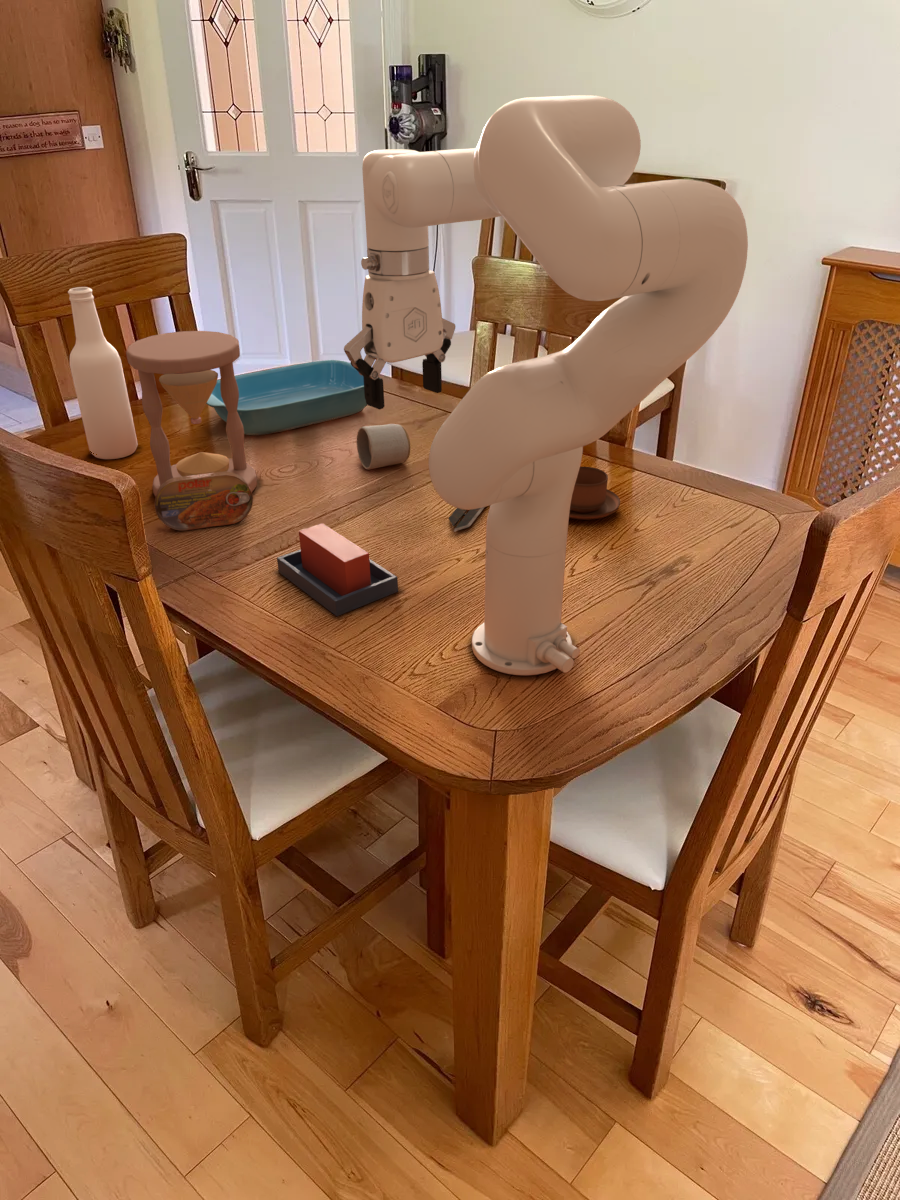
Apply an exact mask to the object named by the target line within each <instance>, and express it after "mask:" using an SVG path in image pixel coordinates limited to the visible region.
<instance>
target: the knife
mask: <svg viewBox="0 0 900 1200" xmlns="http://www.w3.org/2000/svg"><path fill="white" fill-rule="evenodd" d="M484 509H485V507H482V508H478V509H472V510H464V509H459V508H456V507H455V509H454V511H453V512H452V513H451V514H450V516H448V520H449V522H450V524H451V525H452V527H454V529H453V533H454V532H458V531H460V530H464V529H467V528H469V527H471V526H472V524H473V523H474V522H475V520H476V519H477V518H478V516H479V515H480V514H481V513H482V511H483V510H484Z"/></svg>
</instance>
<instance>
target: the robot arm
mask: <svg viewBox="0 0 900 1200" xmlns="http://www.w3.org/2000/svg"><path fill="white" fill-rule="evenodd" d="M641 144H642V141H641V134H640V130H639V126H638V124H637V122H636V120H635V118H634V117H633V115H632V114H631V112H630V111H629V110H628V109H627V108H626V107H625V106H624V105H622V104H621V103H619V102H618V101H616V100H614V99H613V98H612V99H611V98H608V97H604V96H600V95H595V94H591V95H590V94H577V95H575V94H574V95H554V96H552V95H551V96H531V97H529V96H528V97H527V96H526V97H522V98H516V99H514V100H510V101H509V102H506V103H504V104H503V105H501V106H500V107H499V108H498V109H496V110H495V112H493V114H492V115H491V116H490V117H489V118H488V120H487V122H486V124H485V126H483V129H482V133H481V135H480V138H479V140H478V143H477V145H476V147H474V148H473V147H472V148H453V149H442V150H441V149H440V150H429V151H418V150H416V149H408V148H406V149H405V148H393V149H391V148H389V149H388V148H387V149H377V150H373V151H370V152H368V153H366V155H365V156H364V157H363V160H362V167H361V168H362V184H363V185H362V186H363V200H364V201H363V204H364V218H365V219H364V221H365V236H366V257H363V258H362V259H361V261H360V265H361V268H362V269H363V270H365V271H367V272H368V275H366V276H364V283H363V289H362V290H363V291H362V305H361V308H362V309H361V331H359V332H358V333H357V334H356V335H355V336H354V337H353V338H352V339H350V340H349V341H348V342H347V343H346V344H345V345H344V347H343V352H344V353H345V355H346V357H347V359H348V360H349V361H348V362H350V363H351V365H352V366H353V367H354V368H355V369H356V370H357V371H358V372H359V374H360V375H362V376H363V379H364V394H365V400H366V404H367V405H366V406H369V407H371V408H374V409H376V410H383V409H384V408H385V392H384V391H385V390H384V388H385V387H384V379H383V378H382V377H379V376H380V374H381V373H382V371H383V369H384V367H385V365H386V364H387V363H391V364H392V363H398V362H403V361H406V360H407V361H408V360H411V359H415V358H418V357H422V356H425V357H426V358H423V359H422V364H421V365H422V388H423V389H424V390H427V391H429V392H432V393H434V394H435V393H436V394H440V393H442V392H443V389H442V388H443V386H442V384H443V383H442V381H443V380H442V379H443V377H442V376H443V375H442V363H444V362H445V361H446V354H447V352H448V351H449V349H450V348H451V345H452V339H453V337H454V334H455V331H456V324H455V323H454V322H452V321H450V320H448V319H445V318H443V313H442V304H441V303H442V302H441V296H440V295H441V294H440V290H439V285H438V281H437V276H436V274H435V271H434V270H430V247H429V246H430V241H429V227H433V226H439V225H446V224H447V225H448V224H453V223H464V222H474V221H482V220H487V219H494V218H499V217H502V218H503V219H504V221H505V222H506V224H507V225H508V226H509V227H510V228H511V230H512V231H513V232H514V234H515V235H516V236H517V237H518V238H519V240H520V241H521V242H522V244H523V245H524V246H525V247H526V248H527V250H528V251H529V252H530V254H531V255H532V256H533V258H535V260H536V261H537V262H538V264H539V265H540V266H541V267H542V269H543V270H544V272H545V273H546V274H547V275H548V277H549V278H550V279H551V280H552V281H553V282H554V283H555V284H556V285H557V286H558V287H559V288H560V289H562V290H563V291H564V292H565V293H566V294H568V295H570V296H572V297H574V298H576V299H579V300H583V301H589V302H602V301H611V300H615V299H618V300H616V301H615V302H614V303H612V304H611V305H609V306H608V307H607V308H605V309H604V310H603V311H601V313H599V314H598V315H597V316H596V317H595V318H594V319H593V321H591V323H589V325H588V327H587V328H586V329H585V330H584V331H583V332H582V333H581V335H580V336H578V338H576V339H575V340H574V341H573V342H572V343H571V344H570V345H568V346H567V347H566V348H564V349H561V350H560V351H556V352H553V353H549V354H546V355H542V356H538V357H534V358H529V359H525V360H520V361H515V362H511V363H508V364H504V365H501V366H499V367H496V368H494V369H492V370H491V371H489V372H487V373H485V374H484V375H483V376H481V377H480V378H479V379H478V380H477V381H476V382H474V383H473V385H472V387H470V389H468V391H467V392H466V394H465V395H464V396H463V397H462V399H461V400H460V401H459V403H458V404H457V405H456V406H455V408H454V409H453V410H452V411H451V413H450V414H449V415H448V416H447V418H446V419H445V420H444V422H442V424H441V426H440V427H439V429H438V430H437V432H436V433H435V435H434V437H433V439H432V442H431V446H430V449H429V455H428V472H429V479H430V481H431V483H432V486H433V487H434V488H433V489H434V490H435V492H436V494H437V495H438V496H439V497H440V498H441V499H442V500H443V501H444V502H445V503H447V504H448V505H450V506H452V507H454V508H455V509H456V508H459V509H464V510H467V511H469V510H472V509H478V508H482V507H484V508H486V507H488V506H489V509H488V513H487V518H486V525H485V530H486V531H485V557H484V559H485V562H484V563H485V564H484V565H485V566H484V567H485V568H484V622H482V623H481V624H480V625H478V626H477V628H475V630H474V631H473V633H472V636H471V650H472V652H473V655H474V656H475V657H476V659H477V660H478V661H479V662H481V663H482V664H483V665H484V666H486V667H488V668H490V669H492V670H494V671H497V672H499V673H503V674H507V675H514V676H536V675H542V674H547V673H549V672H551V671H555V670H556V669H558V670H560V671H561V672H562V673H565V674H566V673H569V672H570V671H571V670H572V669H573V667H574V664H575V661H574V659H576V658H578V656H579V655H580V653H581V650H580V648H579V647H577V646H575V645H574V644H573V641H572V637H571V635H570V633H569V632H568V626H567V625H566V624H565V623H562V614H563V600H564V587H565V586H564V585H565V584H564V583H565V572H566V571H565V569H566V559H567V558H566V556H567V542H568V535H569V534H568V533H569V532H568V531H569V522H570V521H569V520H570V518H569V512H570V505H571V499H572V494H573V490H574V486H575V482H576V479H577V476H578V472H579V469H580V467H581V464H582V460H583V453H584V447H586V446H587V445H590V444H592V443H595V442H596V441H598V440H599V439H602V437H604V436H605V435H606V434H607V433H608V432H610V430H612V429H613V428H614V427H615V426H616V425H618V423H619V422H620V421H622V420H623V419H624V418H625V417H626V416H627V415H628V414H630V413H631V411H633V410H634V409H635V408H636V407H637V406H638V405H639V404H641V402H643V401H644V400H645V399H647V397H648V396H649V395H650V394H651V393H652V392H653V391H654V390H655V389H656V388H657V387H658V386H659V385H661V384H662V383H663V382H664V381H665V380H666V379H667V378H668V377H670V376H671V375H672V374H673V373H674V372H675V371H676V370H678V369H679V368H680V367H681V366H682V365H683V364H685V363H686V362H687V361H688V360H689V359H690V358H692V356H694V355H695V354H696V353H697V352H698V351H699V350H700V349H701V348H702V347H703V346H704V345H705V344H706V343H707V342H708V341H709V340H710V338H711V337H712V336H713V335H714V334H715V333H716V331H717V330H718V329H719V327H721V325H722V324H723V322H724V321H725V319H726V318H727V317H728V315H729V313H730V311H731V309H732V308H733V306H734V304H735V302H736V299H737V297H738V295H739V292H740V289H741V287H742V284H743V279H744V276H745V273H746V272H745V271H746V267H747V260H748V250H749V249H748V247H749V241H748V230H747V229H748V228H747V223H746V219H745V215H744V213H743V210H742V208H741V206H740V205H739V203H738V202H737V200H736V199H735V198H734V196H732V194H730V193H729V192H728V191H726V190H725V189H724V188H723V187H720V186H718V185H716V184H712V183H710V182H707V181H700V180H695V179H680V178H679V179H666V180H655V181H647V182H637V183H628V184H625V183H626V182H628V180H629V179H630V178H631V177H632V175H633V173H634V172H635V170H636V167H637V165H638V162H639V160H640V159H639V158H640V156H641ZM362 350H363V351H364V354H365V356H364V358H363V356H362V354H361V353H362Z"/></svg>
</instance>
